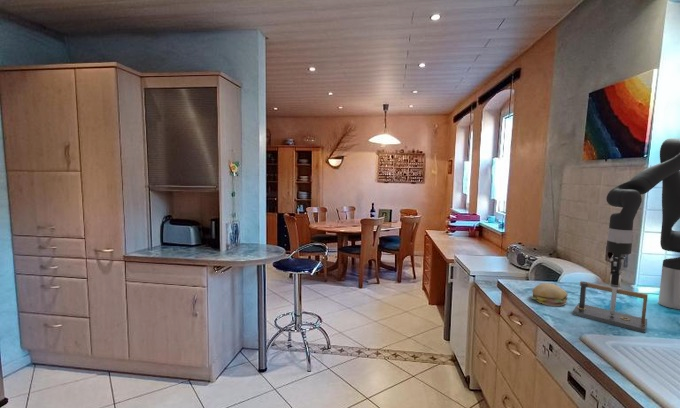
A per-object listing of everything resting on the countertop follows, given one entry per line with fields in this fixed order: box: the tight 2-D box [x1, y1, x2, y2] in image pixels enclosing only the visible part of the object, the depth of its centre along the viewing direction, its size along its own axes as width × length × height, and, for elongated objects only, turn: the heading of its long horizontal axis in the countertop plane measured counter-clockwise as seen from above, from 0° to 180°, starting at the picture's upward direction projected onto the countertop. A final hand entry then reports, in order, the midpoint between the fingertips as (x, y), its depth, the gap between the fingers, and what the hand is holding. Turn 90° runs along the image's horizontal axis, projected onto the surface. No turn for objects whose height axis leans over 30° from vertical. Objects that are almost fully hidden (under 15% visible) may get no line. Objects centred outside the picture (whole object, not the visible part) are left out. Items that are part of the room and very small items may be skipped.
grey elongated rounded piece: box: [609, 273, 622, 315], centre depth 133 cm, size 5×3×17 cm
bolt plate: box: [572, 280, 649, 334], centre depth 134 cm, size 12×22×12 cm, turn 45°
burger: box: [530, 282, 569, 307], centre depth 151 cm, size 13×14×8 cm
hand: (615, 283), depth 132 cm, fingers closed on grey elongated rounded piece, 3 cm apart
